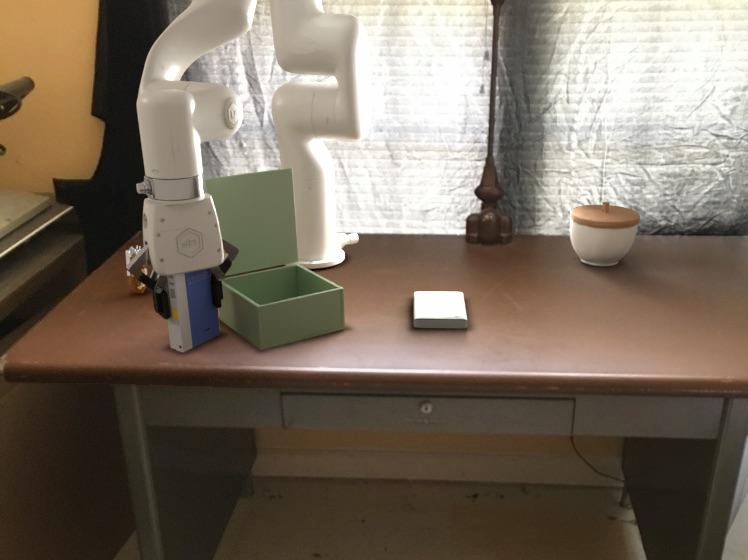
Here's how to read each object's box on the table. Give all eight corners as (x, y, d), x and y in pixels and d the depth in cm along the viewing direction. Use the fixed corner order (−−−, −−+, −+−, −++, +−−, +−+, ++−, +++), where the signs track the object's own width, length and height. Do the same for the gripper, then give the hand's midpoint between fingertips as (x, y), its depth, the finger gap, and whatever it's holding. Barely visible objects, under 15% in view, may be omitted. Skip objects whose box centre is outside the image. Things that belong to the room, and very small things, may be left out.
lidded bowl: (642, 257, 162) (650, 200, 157) (620, 275, 152) (628, 214, 147) (580, 246, 168) (586, 191, 163) (555, 263, 158) (560, 204, 153)
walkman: (206, 330, 128) (198, 254, 122) (220, 334, 127) (213, 257, 121) (168, 348, 122) (158, 269, 117) (182, 352, 121) (173, 272, 115)
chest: (344, 329, 129) (343, 288, 126) (261, 350, 122) (257, 307, 119) (299, 302, 139) (297, 263, 136) (219, 319, 132) (216, 279, 129)
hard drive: (467, 319, 129) (463, 290, 140) (413, 318, 129) (413, 290, 140) (467, 329, 130) (462, 300, 141) (413, 328, 130) (413, 299, 141)
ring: (141, 300, 140) (135, 253, 136) (123, 299, 140) (116, 252, 136) (158, 286, 146) (152, 241, 142) (140, 285, 146) (134, 240, 142)
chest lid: (292, 168, 130) (290, 167, 130) (205, 179, 122) (203, 178, 123) (298, 261, 136) (296, 261, 136) (216, 277, 129) (215, 277, 129)
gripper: (121, 201, 107) (140, 332, 115) (247, 184, 116) (256, 306, 124) (102, 190, 112) (122, 315, 120) (224, 174, 121) (234, 292, 129)
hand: (190, 309), depth 122 cm, fingers closed on walkman, 7 cm apart
